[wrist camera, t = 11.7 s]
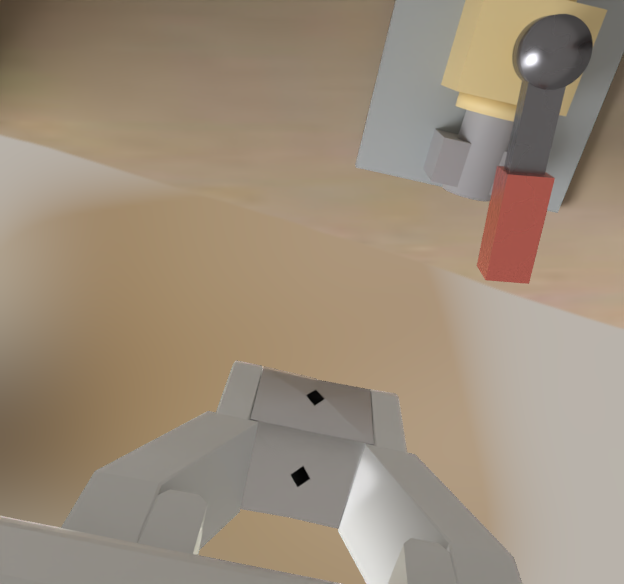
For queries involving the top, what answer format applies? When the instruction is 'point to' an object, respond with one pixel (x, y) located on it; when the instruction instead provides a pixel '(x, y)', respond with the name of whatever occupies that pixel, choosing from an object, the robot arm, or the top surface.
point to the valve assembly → (477, 91)
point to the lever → (531, 144)
